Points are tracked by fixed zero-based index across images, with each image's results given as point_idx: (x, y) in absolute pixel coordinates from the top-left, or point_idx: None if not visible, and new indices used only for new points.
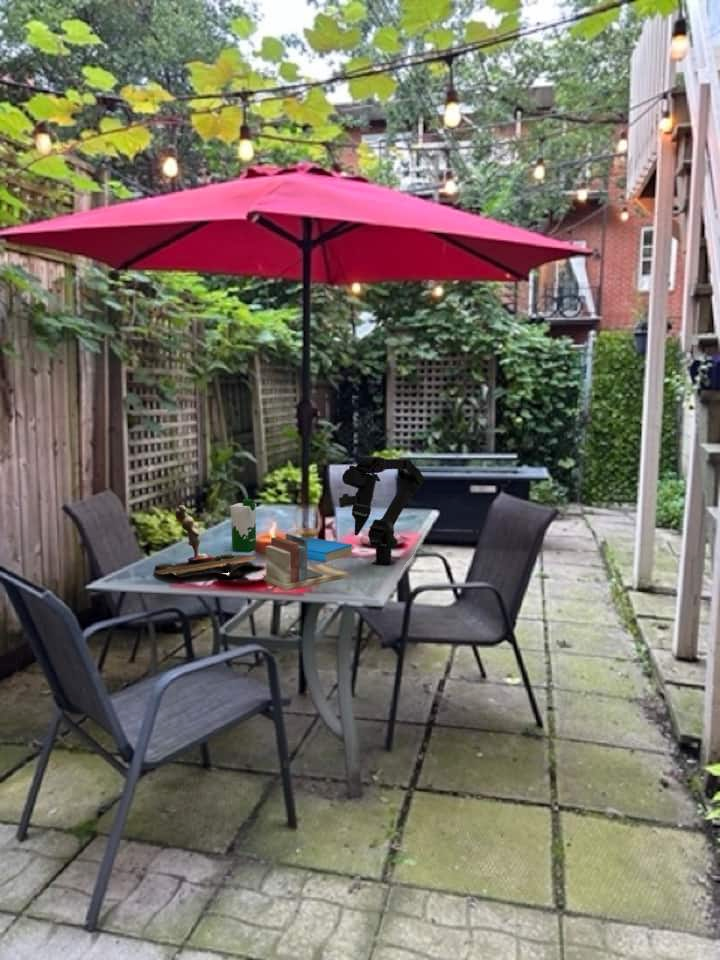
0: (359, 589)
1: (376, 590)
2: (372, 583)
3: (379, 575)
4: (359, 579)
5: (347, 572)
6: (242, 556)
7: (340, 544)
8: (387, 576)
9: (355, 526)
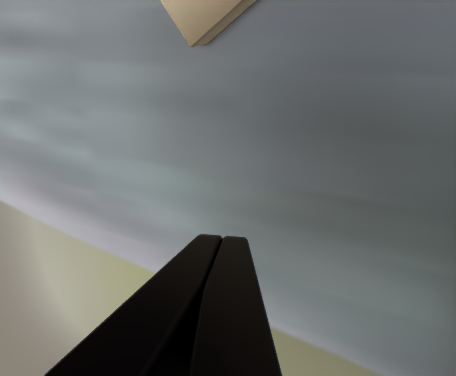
0: (8, 97)
1: (13, 174)
2: (100, 176)
3: None
4: (161, 113)
5: (195, 34)
6: None
7: None
8: None
9: (73, 362)
